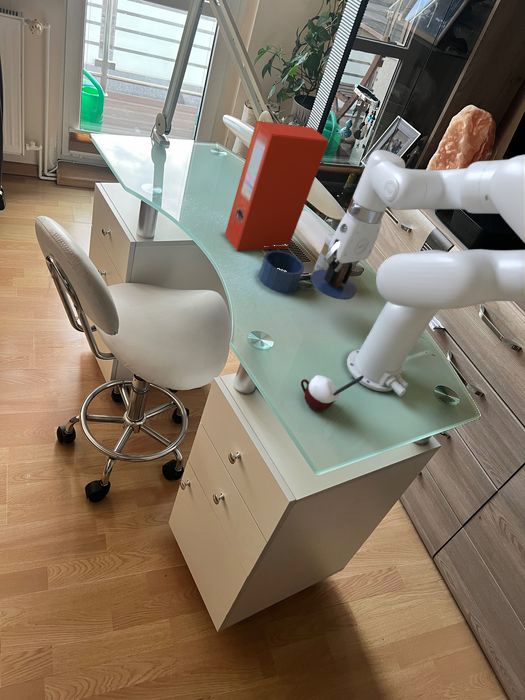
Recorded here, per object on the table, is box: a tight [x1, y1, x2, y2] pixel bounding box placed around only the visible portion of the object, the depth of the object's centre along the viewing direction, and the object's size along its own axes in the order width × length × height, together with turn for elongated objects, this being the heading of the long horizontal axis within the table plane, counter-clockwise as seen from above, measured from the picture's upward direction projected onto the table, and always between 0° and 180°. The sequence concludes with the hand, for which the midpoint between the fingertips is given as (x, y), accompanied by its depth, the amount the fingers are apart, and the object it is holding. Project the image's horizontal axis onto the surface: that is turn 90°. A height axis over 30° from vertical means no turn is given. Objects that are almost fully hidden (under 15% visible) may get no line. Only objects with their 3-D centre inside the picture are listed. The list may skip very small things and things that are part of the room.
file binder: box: [224, 120, 329, 251], centre depth 133 cm, size 8×17×32 cm, turn 121°
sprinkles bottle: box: [312, 233, 335, 272], centre depth 133 cm, size 5×5×14 cm
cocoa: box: [300, 374, 364, 412], centre depth 97 cm, size 10×6×12 cm, turn 34°
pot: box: [258, 249, 305, 294], centre depth 128 cm, size 10×10×6 cm
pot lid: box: [310, 259, 357, 301], centre depth 117 cm, size 11×11×7 cm
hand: (335, 281), depth 118 cm, fingers closed on pot lid, 3 cm apart
